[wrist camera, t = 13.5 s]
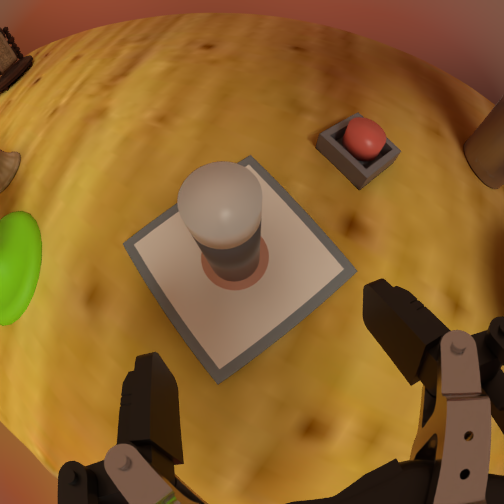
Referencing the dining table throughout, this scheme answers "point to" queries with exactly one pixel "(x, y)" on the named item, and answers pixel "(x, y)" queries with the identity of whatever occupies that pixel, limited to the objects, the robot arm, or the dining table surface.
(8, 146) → the dining table surface
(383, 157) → the button base
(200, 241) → the canister
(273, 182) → the board
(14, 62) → the scroll
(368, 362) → the dining table surface
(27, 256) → the wineglass
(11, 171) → the hand bell
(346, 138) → the button
